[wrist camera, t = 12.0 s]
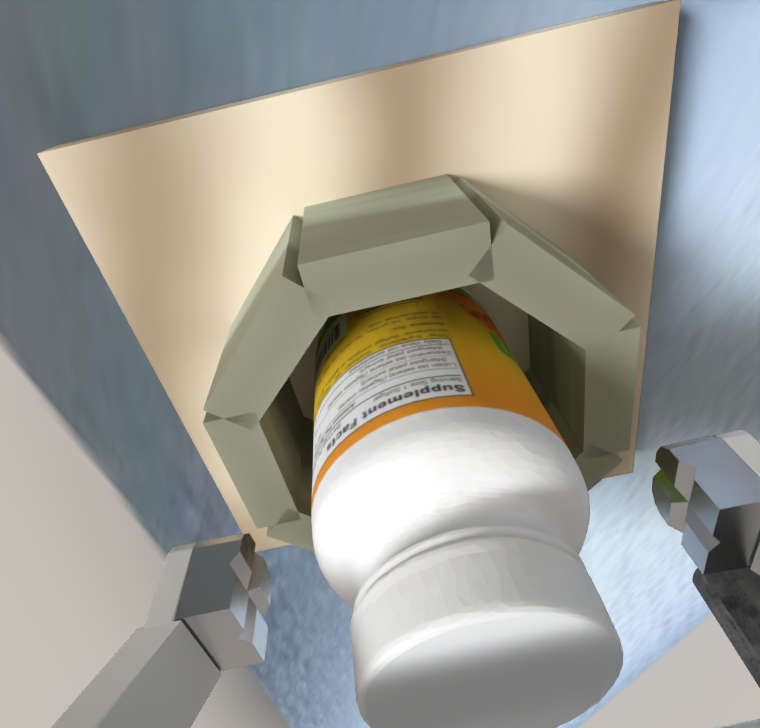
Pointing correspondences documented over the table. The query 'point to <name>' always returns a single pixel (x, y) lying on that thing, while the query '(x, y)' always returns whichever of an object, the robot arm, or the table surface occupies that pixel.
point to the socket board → (391, 237)
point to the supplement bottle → (452, 524)
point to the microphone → (735, 610)
